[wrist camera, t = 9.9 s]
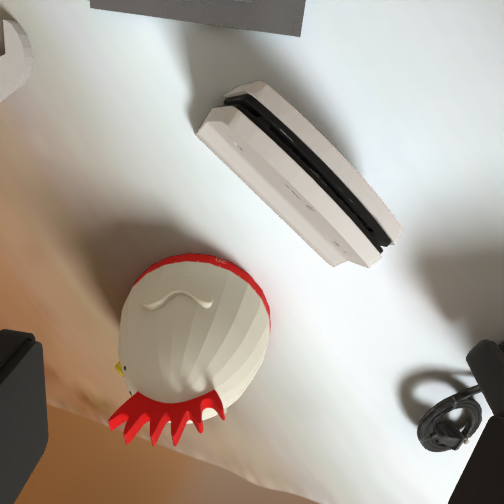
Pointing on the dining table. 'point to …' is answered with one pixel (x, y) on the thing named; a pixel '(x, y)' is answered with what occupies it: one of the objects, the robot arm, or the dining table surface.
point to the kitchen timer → (188, 343)
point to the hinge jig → (219, 12)
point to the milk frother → (467, 400)
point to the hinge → (299, 175)
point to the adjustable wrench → (14, 59)
